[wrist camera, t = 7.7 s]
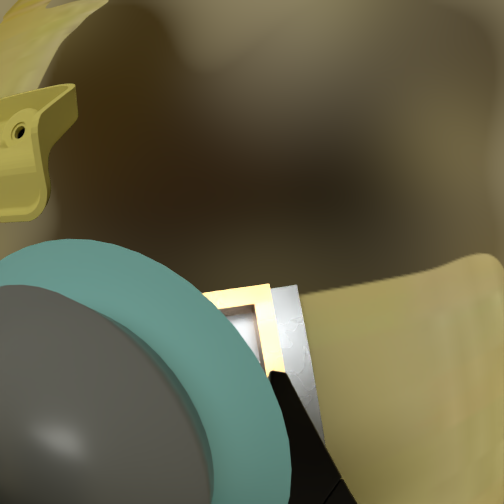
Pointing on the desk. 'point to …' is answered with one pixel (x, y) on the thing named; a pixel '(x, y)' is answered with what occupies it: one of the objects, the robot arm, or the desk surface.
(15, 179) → the plastic component
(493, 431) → the desk surface
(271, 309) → the motor assembly
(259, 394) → the teal cylinder grey dome
